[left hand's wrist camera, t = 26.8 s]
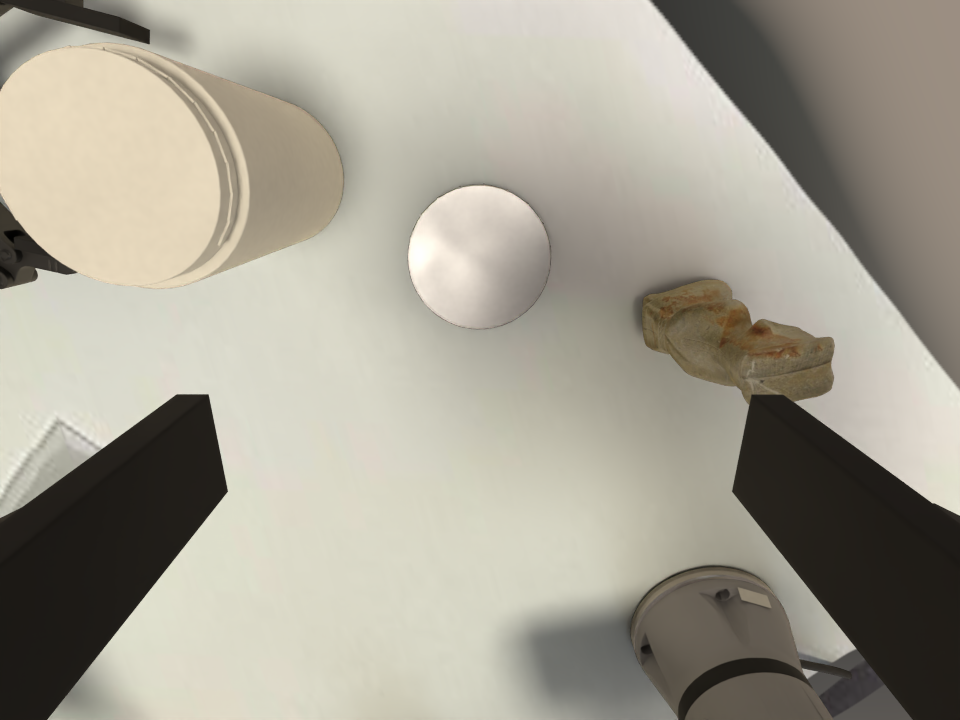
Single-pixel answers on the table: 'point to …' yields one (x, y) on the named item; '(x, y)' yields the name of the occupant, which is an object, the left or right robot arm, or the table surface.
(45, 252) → the right robot arm
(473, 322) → the lid
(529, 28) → the table surface
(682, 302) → the sculpture
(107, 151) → the jar
